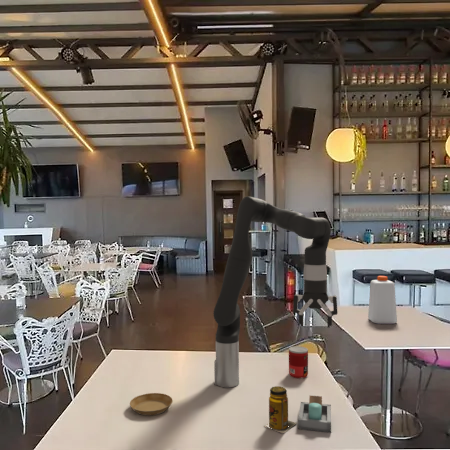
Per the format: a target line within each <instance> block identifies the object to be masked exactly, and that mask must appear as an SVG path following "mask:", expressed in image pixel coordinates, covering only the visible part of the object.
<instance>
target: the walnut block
mask: <svg viewBox="0 0 450 450" xmlns="http://www.w3.org/2000/svg"><path fill="white" fill-rule="evenodd" d="M308 401H309V402H308V403H309V404H310V403H318V404H320V405H321V406H322V404H323V396H320V395H309V399H308ZM321 416H322V413H321Z"/></svg>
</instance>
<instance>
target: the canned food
mask: <svg viewBox="0 0 450 450" xmlns="http://www.w3.org/2000/svg"><path fill="white" fill-rule="evenodd" d="M288 374H289V376H290V377H291V378H295V379H305V378H308V374H309V349H308V348H307V347H306V346H298V345H296V346H295V345H294V346H290V347H289V348H288Z"/></svg>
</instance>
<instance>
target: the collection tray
mask: <svg viewBox="0 0 450 450" xmlns="http://www.w3.org/2000/svg"><path fill="white" fill-rule="evenodd" d="M297 429H298V430H304V431H311V432H312V431H313V432H322V433H332V405H331V404H328V403H322V416H321V420H315V419H309V402H306V401H300V406H299V412H298V419H297Z"/></svg>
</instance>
